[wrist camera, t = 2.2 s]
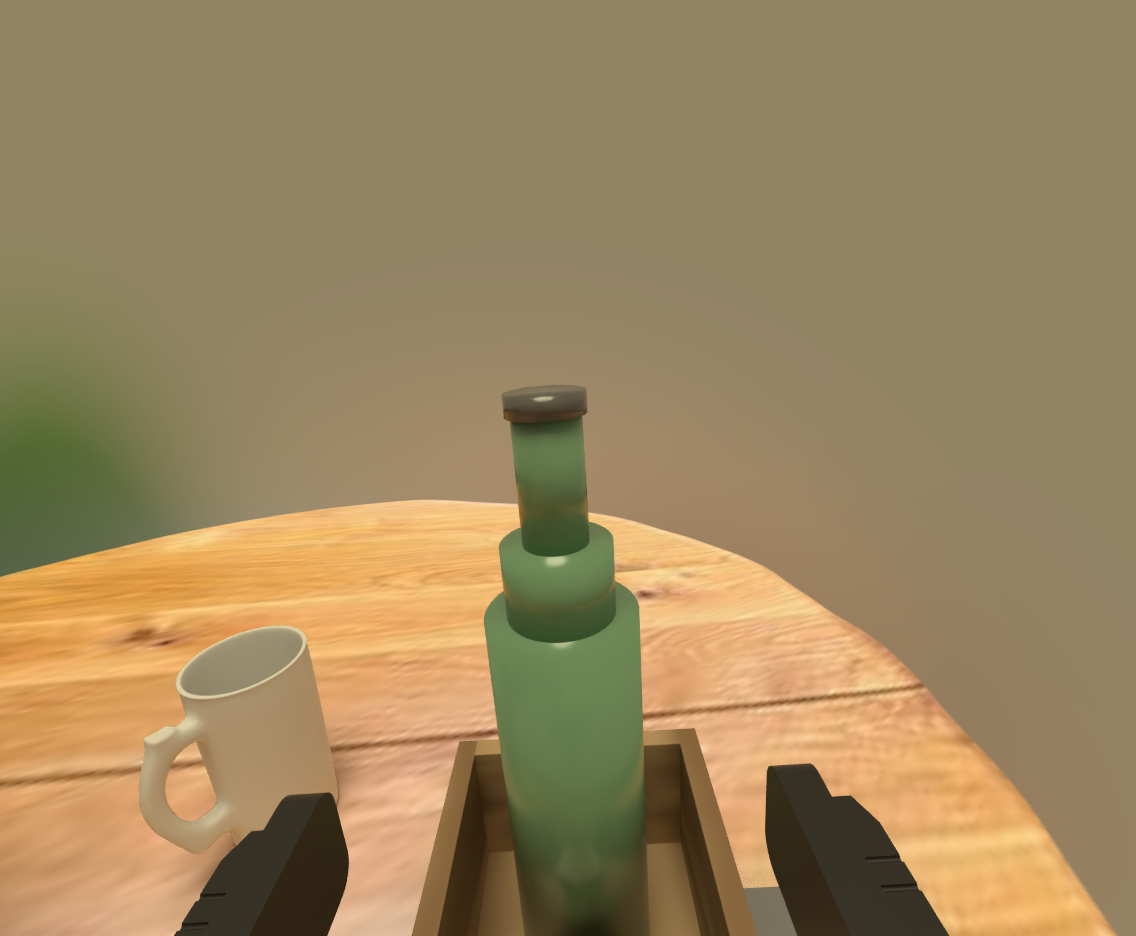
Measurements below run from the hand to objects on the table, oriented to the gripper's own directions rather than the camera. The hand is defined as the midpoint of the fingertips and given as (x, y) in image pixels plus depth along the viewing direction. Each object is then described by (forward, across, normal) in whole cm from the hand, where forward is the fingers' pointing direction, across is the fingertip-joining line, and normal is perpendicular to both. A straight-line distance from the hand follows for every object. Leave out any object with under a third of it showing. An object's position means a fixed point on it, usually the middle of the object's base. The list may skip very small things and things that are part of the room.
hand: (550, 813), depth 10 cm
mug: (+18, +20, +22) cm, 35 cm away
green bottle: (+12, 0, +21) cm, 24 cm away
